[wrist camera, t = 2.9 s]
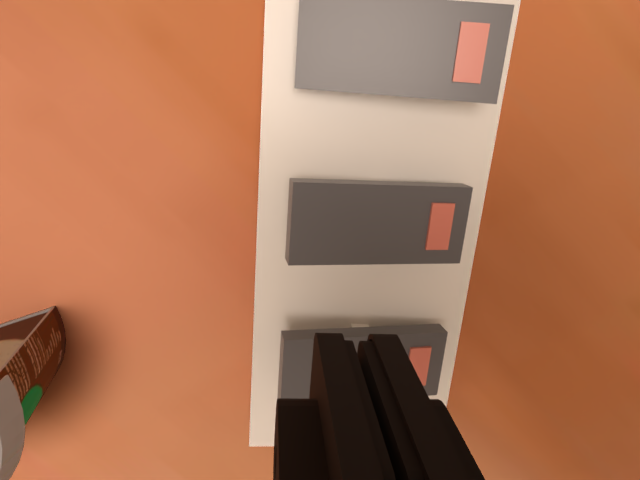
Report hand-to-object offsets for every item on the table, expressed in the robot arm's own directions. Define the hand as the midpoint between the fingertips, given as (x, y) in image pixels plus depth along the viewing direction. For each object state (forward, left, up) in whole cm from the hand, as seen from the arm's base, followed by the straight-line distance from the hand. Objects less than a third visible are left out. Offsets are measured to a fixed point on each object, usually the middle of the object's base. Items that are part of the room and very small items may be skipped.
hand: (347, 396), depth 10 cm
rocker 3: (-4, +8, -14) cm, 17 cm away
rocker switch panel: (-4, 0, -19) cm, 19 cm away
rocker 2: (-4, 0, -14) cm, 14 cm away
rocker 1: (-4, -8, -14) cm, 17 cm away
